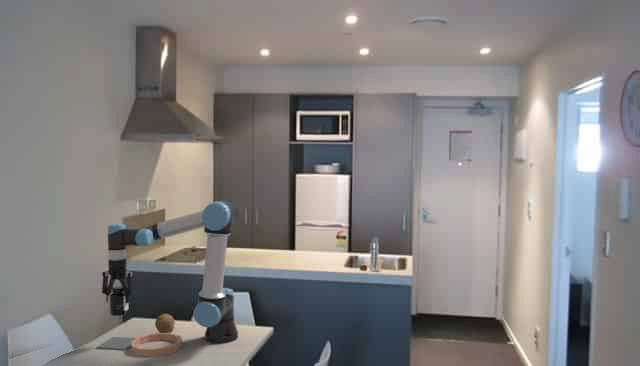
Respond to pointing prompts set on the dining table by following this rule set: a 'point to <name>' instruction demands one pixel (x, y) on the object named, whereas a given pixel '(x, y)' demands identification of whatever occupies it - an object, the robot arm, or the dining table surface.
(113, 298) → the supplement bottle
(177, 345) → the pink polygonal hoop
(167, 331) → the natural sponge
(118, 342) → the mat
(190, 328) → the dining table surface
